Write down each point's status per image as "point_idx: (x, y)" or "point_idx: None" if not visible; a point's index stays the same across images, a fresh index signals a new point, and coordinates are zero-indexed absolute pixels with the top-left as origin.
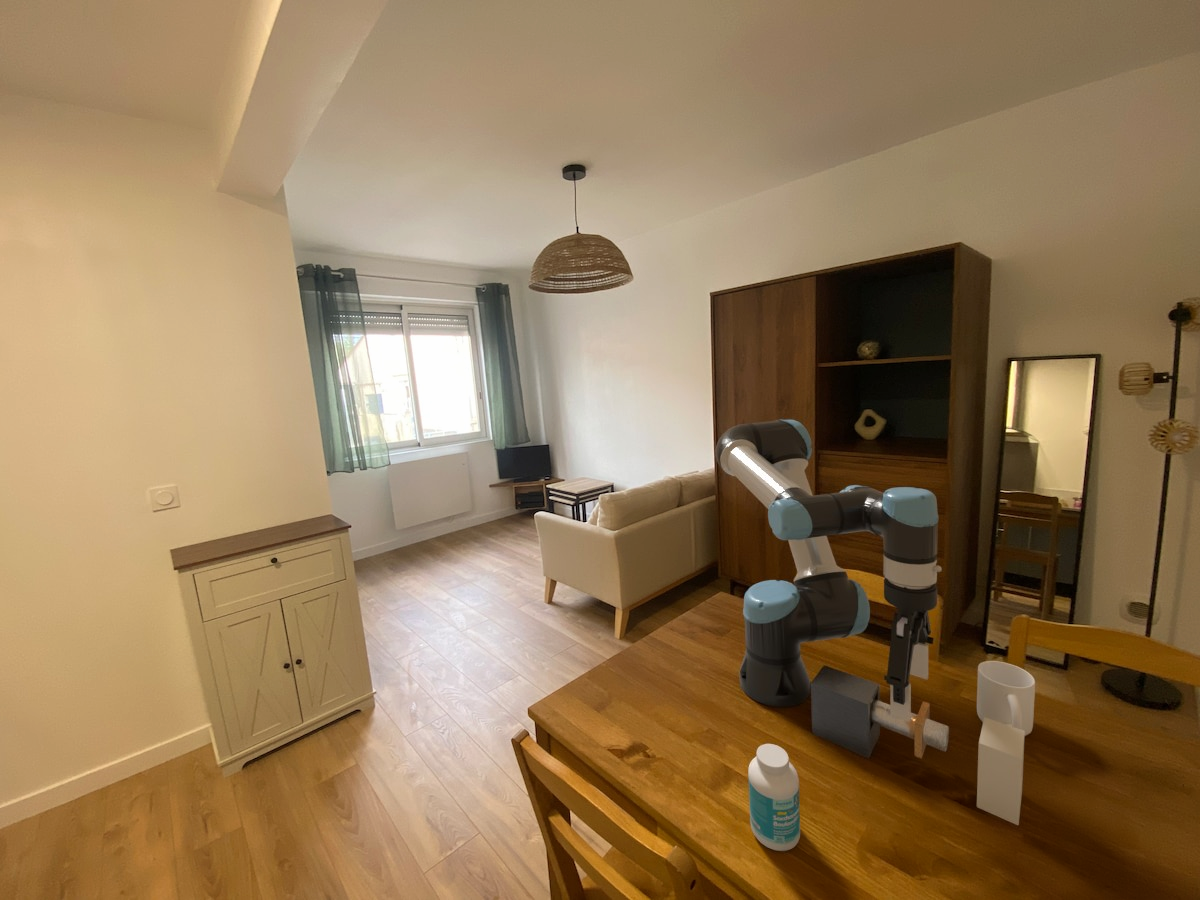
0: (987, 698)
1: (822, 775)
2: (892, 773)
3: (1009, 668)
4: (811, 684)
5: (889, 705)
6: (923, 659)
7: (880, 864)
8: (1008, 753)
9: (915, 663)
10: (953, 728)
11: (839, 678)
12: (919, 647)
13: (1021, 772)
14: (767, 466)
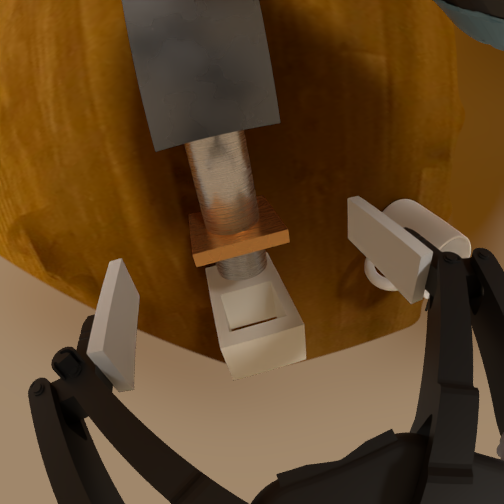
0: None
1: (64, 107)
2: (166, 170)
3: (462, 257)
4: None
5: (231, 166)
6: (382, 263)
7: (25, 245)
8: (231, 371)
9: (370, 231)
10: (348, 187)
11: (214, 24)
12: (407, 277)
13: (272, 316)
14: None
